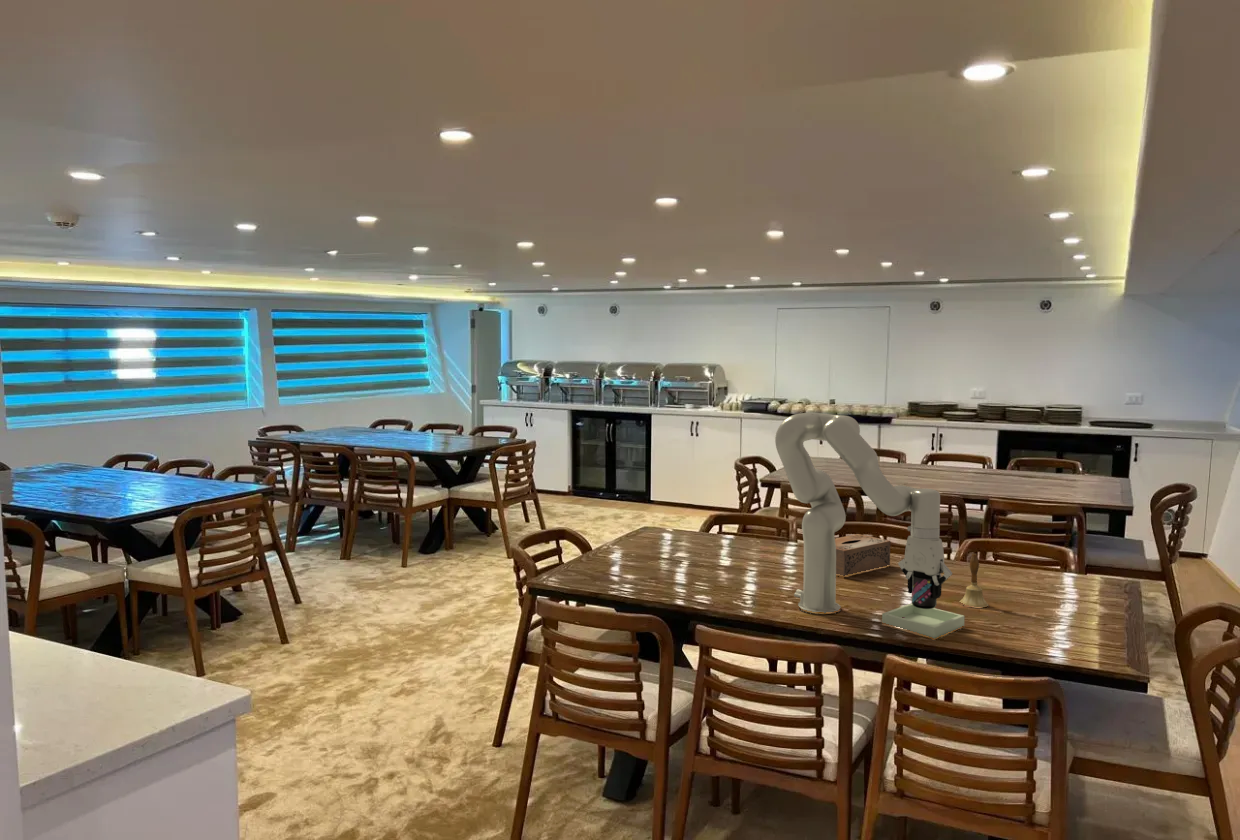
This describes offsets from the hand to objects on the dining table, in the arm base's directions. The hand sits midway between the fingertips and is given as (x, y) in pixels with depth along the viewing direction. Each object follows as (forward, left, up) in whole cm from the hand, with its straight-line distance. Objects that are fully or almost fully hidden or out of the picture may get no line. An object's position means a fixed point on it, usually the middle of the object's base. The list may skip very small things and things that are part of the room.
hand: (924, 594), depth 230 cm
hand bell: (-1, +31, -10) cm, 32 cm away
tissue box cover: (-51, +39, -10) cm, 65 cm away
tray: (0, 0, -9) cm, 9 cm away
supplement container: (0, 0, -3) cm, 3 cm away
